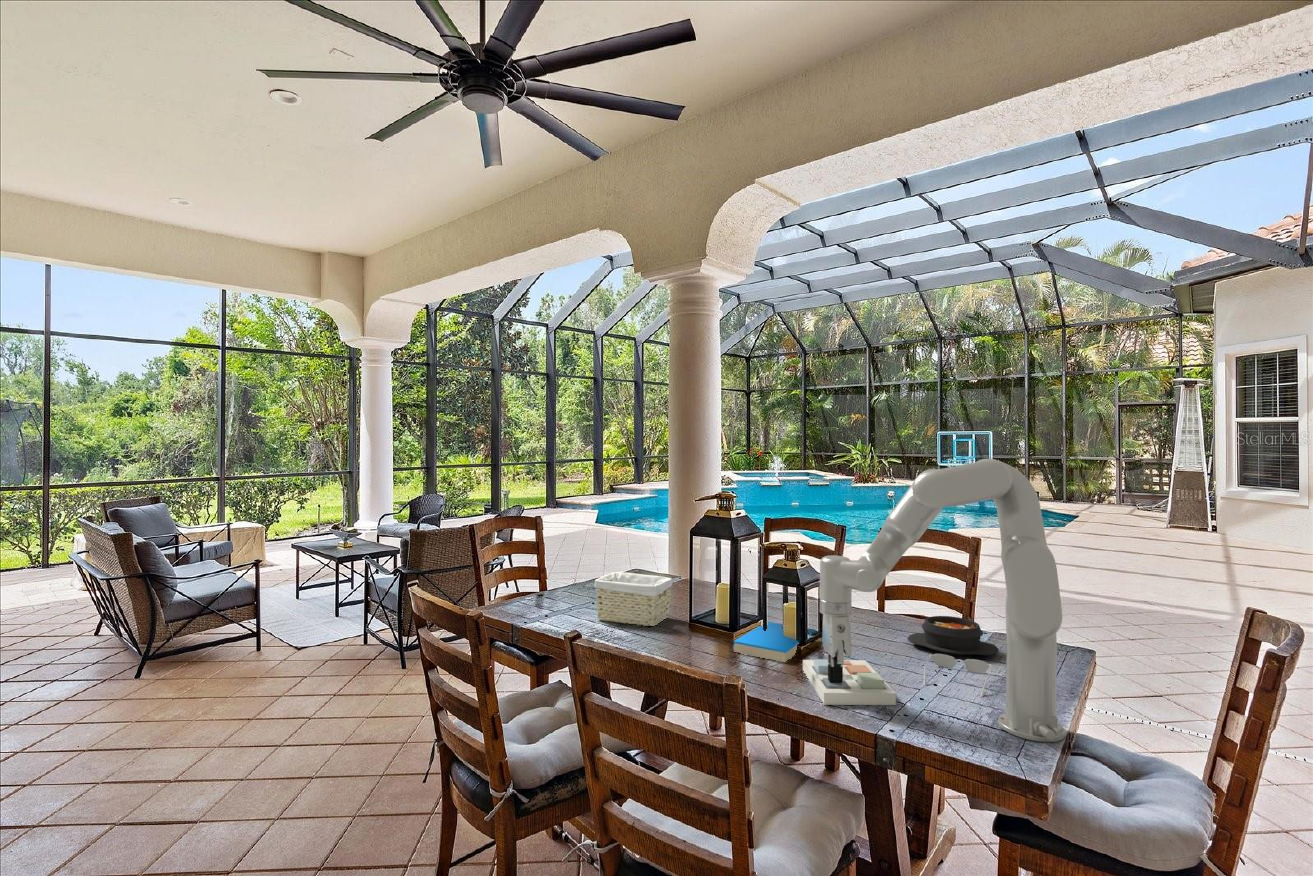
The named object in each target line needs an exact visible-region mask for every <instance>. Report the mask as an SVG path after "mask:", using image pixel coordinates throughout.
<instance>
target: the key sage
mask: <svg viewBox="0 0 1313 876" xmlns="http://www.w3.org/2000/svg"><path fill="white" fill-rule="evenodd" d="M884 681H885V680H884V678H883V677H882V676H881V675H880V674H879V673H878V672H877V673H857V683H858V684H859V686H860V687H861V688H862V689H884Z"/></svg>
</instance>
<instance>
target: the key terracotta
mask: <svg viewBox="0 0 1313 876" xmlns="http://www.w3.org/2000/svg"><path fill="white" fill-rule="evenodd" d="M846 670H847V671H848V672H849V674H850V675H857V673H871V671H870V670H869V669H868V668H867V667H866V665H846Z"/></svg>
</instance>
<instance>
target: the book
mask: <svg viewBox="0 0 1313 876" xmlns="http://www.w3.org/2000/svg"><path fill="white" fill-rule="evenodd" d="M767 622H768V625H767V629H766V631H764V630H763V627H762V625H763V624H761V625H760V626H758V627H756V628H754V629H752V630H751V631H749V632H747V633H745V634H744V635H742V636H740V637H739V638H736V639H735V640H734V641H733V643H732V648H731V649H732V652H733V651H734V652H739V653H743V654H747V655H753V656H757V657H760V658H759V659H762V658H765V659H764V660H767V659H774V660H778V661H782V662H786V661H787V660H788V659H790V660H791V659H792V657H793V656H794V655H795V653H796V650H797V645H798V644H799V642H798V641H797V640H795V639H792V638H788V637H785V636H784V634H783V628H782V627H783V625H782V624H783V623H779V622H772V621H771V622H770V621H767ZM808 629H809V636H810V635H811V634H812V632H814V631H815V630H816V629H814V628H808ZM815 632H816V631H815ZM747 655H746V656H747ZM795 656H796V655H795ZM795 656H794V657H795ZM757 657H756V658H757ZM794 657H793V658H794ZM782 662H781V663H782ZM787 662H788V661H787ZM787 662H786V663H787Z"/></svg>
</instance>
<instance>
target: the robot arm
mask: <svg viewBox="0 0 1313 876" xmlns="http://www.w3.org/2000/svg"><path fill="white" fill-rule="evenodd" d="M1035 489H1036V488H1035V487H1034V486H1033V484H1032V483H1031V481H1030V480H1029V479H1028V478H1027V477H1026V476H1025V474H1023V473H1022V472H1021V471H1019V470H1018V469H1017V468H1015V467H1013V466H1012V465H1010V464H1008V463H1005V462H1004V461H1000V460H997V459H993V458H982V459H979V460H977V461H975V462H971V463H967V464H961V465H956V466H951V467H950V466H949V467H945V468H944V467H943V468H938V469H937V468H930V469H926V470H924V471H922V472H921V473H919V474H918V475H917V476H916V478H915V479H914V481H913V482H912V484H911V485H910V486H909V487H908V488H907V491H905V493H904V494H903V496H902V497H901V499H900V500H899V501H898V502H897V503H896V505H895V506H894V507H893V508H892V510H891V511H890V513H889V514H888V516H887V517H886V519H885V521H884V523H883V525H882V527H881V529H880V531H879V532H878V533H877V535H876V536H875V538H874V539H873V540H872V542H871V543H870V544H869V546H868V547H867V549H866V550H865V551H864V552H863V553H862V555H861V556H860V558H858V559H857V560H851V559H850V558H848V557H847V556H842V555H835V554H834V555H825V556H823V557H821V559H820V561H819V613H820V614H822V645H823V646H822V647H823V648H824V649H825V650H826V652H827V659H828V680H829V682H830V683H842V682H843V664H844V660H845V658H844V655H845V656H846V657H847V658H851V657H852V656H853V655H852V653H853V651H852V650H853V649H852V631H851V621H850V616H851V615H852V597H853V596H852V592H853V591H852V590H854V591H858V592H861V593H862V592H863V593H872V592H875V591H877V590H878V589H880V587H882V585H883V583H884V580H886V577H887V576H888V575H889V574H890V572H891V570H892V569H893V568H894V567H895V566H896V565H897V563H898V562H899V560H900V559H901V558H902V557H903V555H904V554H906V552H907V551H908V550H909V549H910V547H912V546H914V545H915V544H916V543H918V541H919V540H920V538H921V537H922V536H923V535H924V533H925V532H926V531H927V530H928V528H929V527H930V526H931V524H932V523H933V522H934V521H935V519H936V518H937V517H938V515H940V512H942V510H943V508H952V507H957V506H958V507H959V506H964V505H969V504H975V503H980V502H987V501H993V503H994V505H995V508H996V512H997V519H998V525H999V532H1000V543H1001V553H1000V554H1001V555H1000V560H1001V562H1002V567H1003V574H1004V582H1005V589H1006V598H1005V604H1004V606H1005V608H1004V609H1005V610H1004V611H1005V631H1006V633H1005V637H1006V639H1005V640H1006V647H1005V648H1006V649H1005V650H1006V651H1005V652H1006V653H1005V656H1006V657H1005V666H1006V667H1005V668H1006V669H1005V670H1006V671H1005V673H1006V674H1005V677H1006V678H1005V688H1006V689H1005V696H1006V697H1005V701H1006V702H1005V706H1006V707H1005V712H1004V713H1002V714H1000V715H999V716H998V719H997V720H998V722H997V723H998V726H999V727H1000V728H1001V730H1004V731H1005V732H1007V733H1009V734H1011V735H1013V736H1016V737H1019V738H1021V739H1025V740H1029V741H1033V742H1034V741H1035V742H1040V743H1041V742H1042V743H1053V742H1054V743H1055V742H1059V741H1062V740H1065V739H1064V738H1065V737H1066V730H1065V728H1064V727H1063V726H1062V725H1061V723H1058V721H1059V719H1058V717H1057V714H1058V712H1057V709H1058V707H1057V706H1058V705H1057V697H1058V695H1057V685H1058V684H1057V683H1058V682H1057V676H1058V675H1057V671H1058V670H1057V669H1058V668H1057V665H1058V663H1057V662H1058V651H1057V650H1058V645H1057V644H1058V641H1057V640H1058V639H1057V633H1058V632H1059V631H1060V628H1061V626H1062V623H1063V611H1062V610H1063V609H1062V608H1063V607H1062V601H1061V592H1060V591H1061V590H1060V585H1059V584H1060V582H1059V575H1058V574H1059V573H1058V567H1057V562H1056V559H1055V557H1054V554H1053V553H1052V551H1051V550H1050V547H1049V546H1048V544H1047V538H1046V534H1045V533H1046V532H1045V526H1044V520H1043V515H1042V509H1041V504H1040V500H1039V497H1038V493H1037V491H1036V490H1035Z"/></svg>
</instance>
